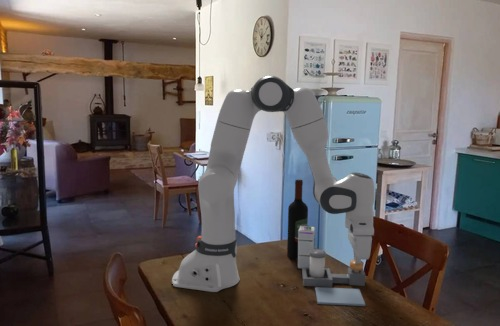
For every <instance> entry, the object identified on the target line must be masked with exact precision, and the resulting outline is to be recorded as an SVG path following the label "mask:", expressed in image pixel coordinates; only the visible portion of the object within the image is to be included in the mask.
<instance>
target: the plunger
mask: <svg viewBox="0 0 500 326" xmlns="http://www.w3.org/2000/svg"><path fill="white" fill-rule="evenodd" d="M349 268H350V269H352V270H354V272H359V271H360V270H364V261H362V260H361V263H360V264H356V263H355V261H354V259H351V260H350V261H349Z"/></svg>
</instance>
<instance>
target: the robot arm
mask: <svg viewBox="0 0 500 326" xmlns="http://www.w3.org/2000/svg"><path fill="white" fill-rule="evenodd" d="M260 111H263V112H268V113H279V112H282V113H283V114H284V115H285V117H286V119H287V121H288V125H289V127H290V130H291V133H292V135H293V137H294V139H295V141H296V143H297V145H298V147H299V148H300V150H301V151H302V152H303V155H305V157H306V160H307V163H308V165H309V168H310V171H311V174H312V177H313V186H312V193H313V198H314V200H315V201H316V202H317V203H318V204H319V206H320V207H321V208H322V209H323V210H324V211H325V212H326V213H328V214H331V215H338V214H344V213H345V219H344V220H345V221H344V223H345V224H344V226H345V228H347V229H348V231H347V238H348V241H349V243H350V245H351V248H352V252H353V260H354V261H355V263H356V264H360V263H361V261H362V260H369V259H370V257H371V249H372V241H373V237H372V236H375V228H374V214H375V213H374V207H373V206H374V204H375V181H374V180H373V178H372V176H369V175H368V174H365V173H360V172H350V173H349V174H348V175H346V176H345V177H344V178H342V179H339V180H337V178H335V177H334V175H333V173H332V171H331V168H330V165H329V162H328V158H327V155H326V145H327V142H328V140H329V130H328V124H327V121H326V118H325V115H324V112H323V110H322V107H321V105H320V103H319V101H318V99H317V97H316V95H315V94H314V92H313V90H312V89H310V88H308V87H297V88H294V89H293V88H292V87H291V86H290V85H288V84H287V83H286V82H285V80H283V79H281V78H279V77H278V76H276V75H265V76H262V77H259V79H258V80H256V81H255V83H254V85H253V86H252V87H251V88H250V89H249V90H243V89H233V90H231V91H228V93H227V94H226V96H225V98H224V100H223V102H222V105H221V107H220V109H219V113H218V116H217V120H216V123H215V127H214V131H213V135H212V139H211V142H210V149H209V155H208V160H207V165H206V168H205V171H204V172H203V174H201V175H200V177H199V180H198V183H197V184H198V187H197V188H198V196H199V197H198V200H199V207H200V208H199V209H200V214H201V215H200V217H201V235H198V236H197V237H196V241H195V249H194V250H193V251H192V252H191V253H188V254H187V255H186V256H185V257H184V258H183V259H182V260H181V262H180V264H179V268H178V270H176V271H175V272H174V274H173V275H172V278H171V284H173V285H172V286H173V287H175V288H183V289H187V290H188V289H190V290H198V291H204V292H209V293H218V292H219V291H221V290H224V289H228V288H231V287H233V286H236V285H237V284H238V283H239V282H240V276H239V270H238V266H237V258H236V256H237V253H238V252H237V250H238V247H237V244H238V243H237V238H236V212H235V187H236V185H237V181H238V178H239V175H240V170H241V166H242V162H243V158H244V155H245V151H246V148H247V143H248V140H249V137H250V133H251V129H252V126H253V121H254V120H255V117H256V115H257V114H258V113H259V112H260Z"/></svg>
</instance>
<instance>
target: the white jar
mask: <svg viewBox="0 0 500 326" xmlns="http://www.w3.org/2000/svg"><path fill="white" fill-rule="evenodd" d="M309 255H310V270H309V276H308V277H312V278H325V276H324V272H325V268H326V267H325V266H326V256H327V253H326V251H325V250H322V249H316V248H315V249H313V250H310V253H309Z"/></svg>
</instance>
